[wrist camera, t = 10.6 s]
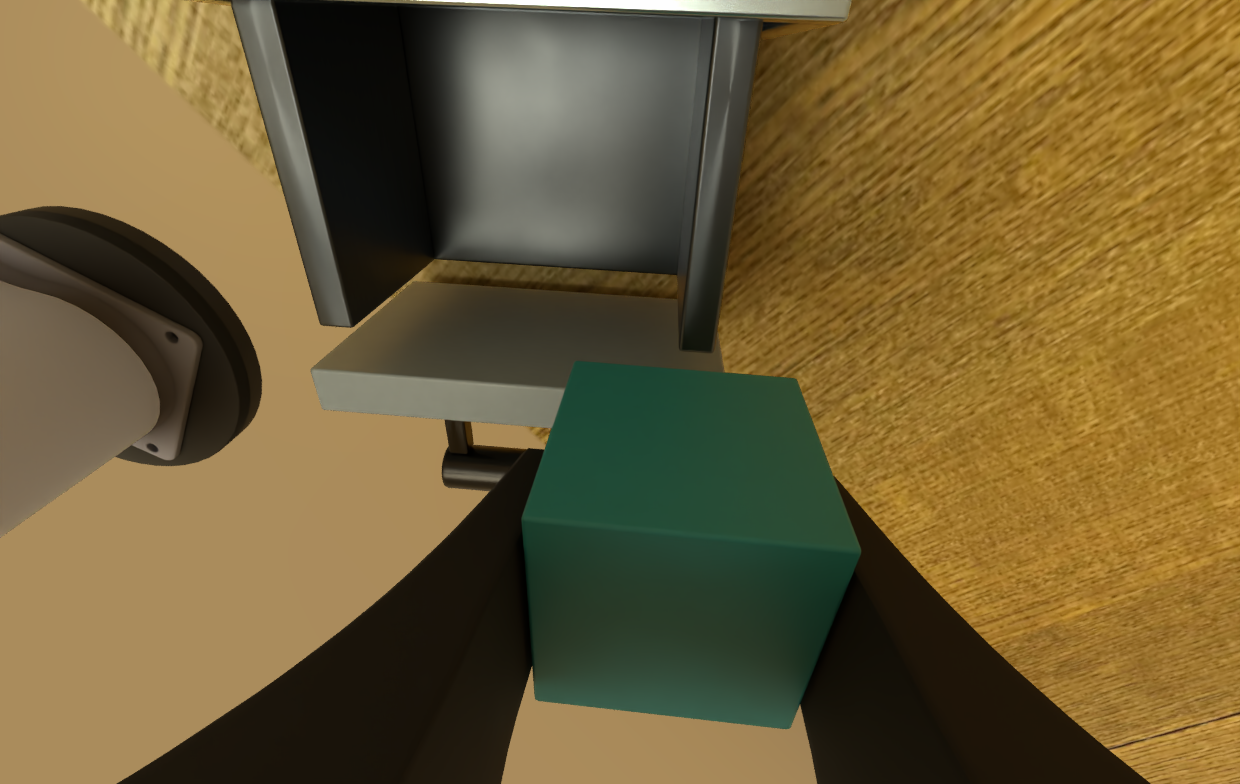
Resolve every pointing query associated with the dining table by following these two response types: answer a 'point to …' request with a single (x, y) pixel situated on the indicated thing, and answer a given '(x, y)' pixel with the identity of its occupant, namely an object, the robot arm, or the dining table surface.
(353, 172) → the grey drawer
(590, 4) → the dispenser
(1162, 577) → the dining table surface
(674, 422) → the teal green cube
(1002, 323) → the dining table surface
